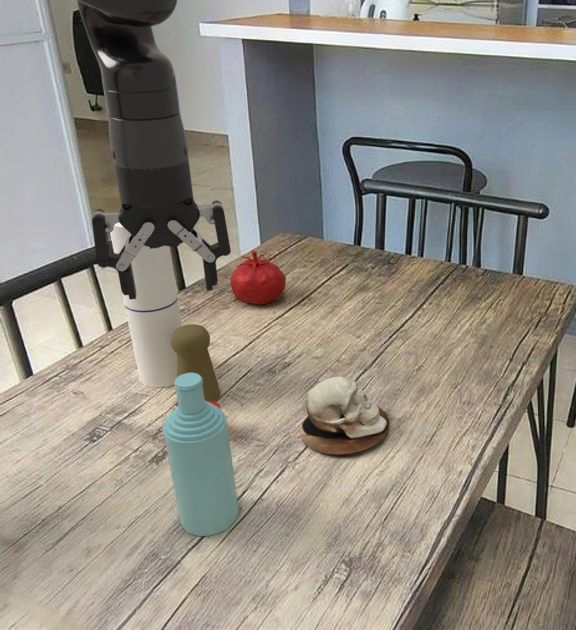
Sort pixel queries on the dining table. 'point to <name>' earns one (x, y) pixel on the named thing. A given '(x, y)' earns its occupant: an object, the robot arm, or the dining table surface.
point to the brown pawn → (195, 357)
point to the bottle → (200, 460)
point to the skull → (342, 418)
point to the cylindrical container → (152, 312)
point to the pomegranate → (257, 280)
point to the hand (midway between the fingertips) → (171, 292)
